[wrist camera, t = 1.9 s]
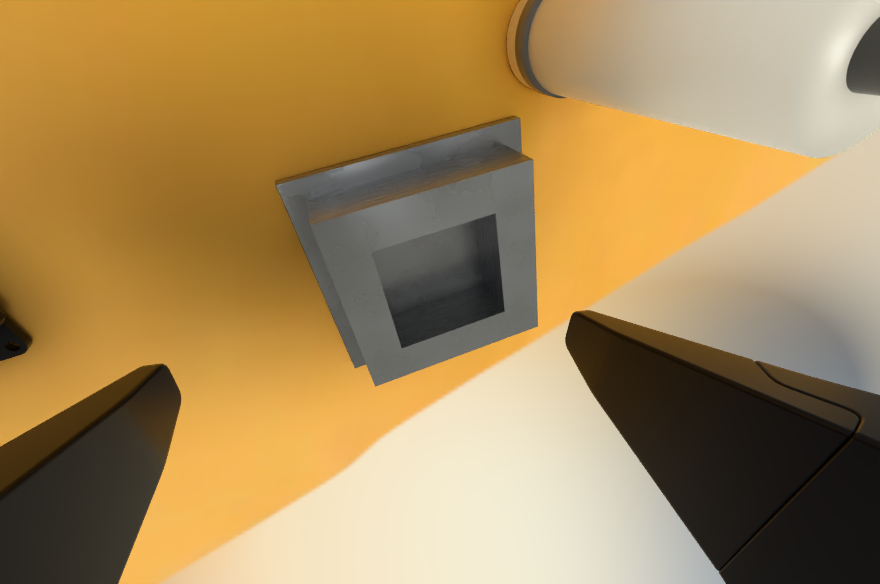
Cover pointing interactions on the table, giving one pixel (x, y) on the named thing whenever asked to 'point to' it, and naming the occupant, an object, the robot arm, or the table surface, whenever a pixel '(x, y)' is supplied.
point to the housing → (423, 246)
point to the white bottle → (713, 64)
